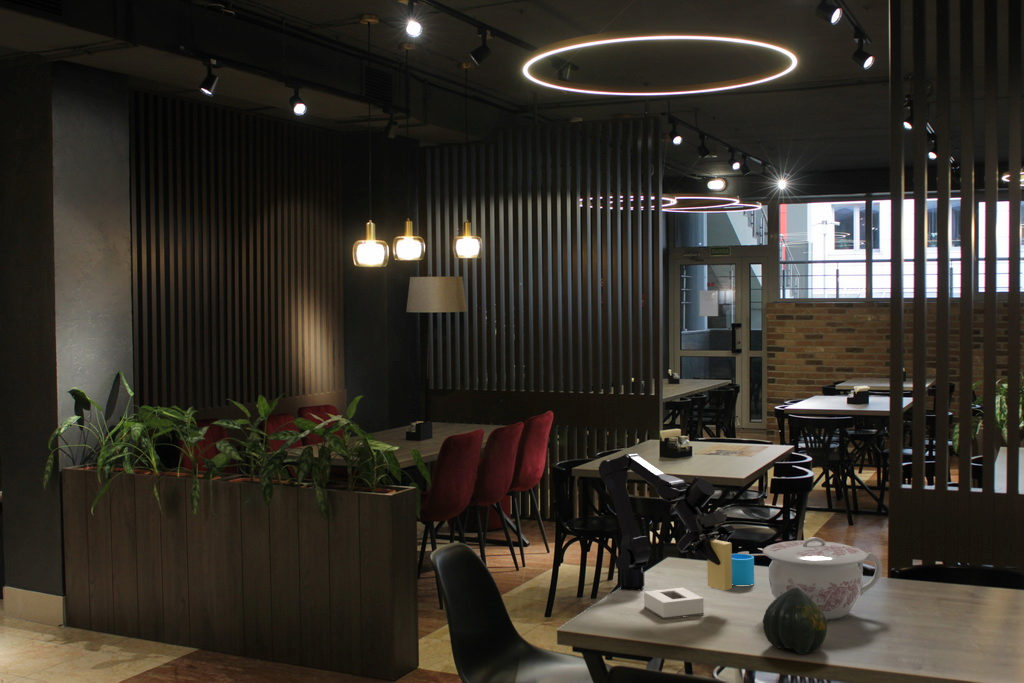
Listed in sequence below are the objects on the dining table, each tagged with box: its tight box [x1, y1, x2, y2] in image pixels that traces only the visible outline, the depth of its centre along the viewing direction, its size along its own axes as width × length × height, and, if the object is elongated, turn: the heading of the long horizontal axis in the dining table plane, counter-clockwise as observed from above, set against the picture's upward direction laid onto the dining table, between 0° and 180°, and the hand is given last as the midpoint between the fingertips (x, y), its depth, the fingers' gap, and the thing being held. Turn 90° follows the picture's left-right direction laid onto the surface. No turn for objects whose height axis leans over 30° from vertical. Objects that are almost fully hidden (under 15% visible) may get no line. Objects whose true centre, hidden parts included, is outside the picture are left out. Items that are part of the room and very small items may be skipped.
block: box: [707, 539, 733, 591], centre depth 276 cm, size 6×3×12 cm, turn 38°
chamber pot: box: [762, 536, 883, 621], centre depth 272 cm, size 28×28×21 cm
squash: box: [762, 587, 828, 655], centre depth 244 cm, size 14×15×15 cm
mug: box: [732, 553, 755, 585], centre depth 306 cm, size 12×8×8 cm
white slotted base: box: [643, 587, 705, 620], centre depth 277 cm, size 12×12×4 cm
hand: (723, 563), depth 275 cm, fingers closed on block, 3 cm apart
